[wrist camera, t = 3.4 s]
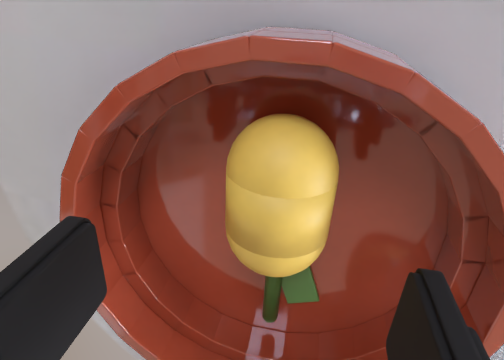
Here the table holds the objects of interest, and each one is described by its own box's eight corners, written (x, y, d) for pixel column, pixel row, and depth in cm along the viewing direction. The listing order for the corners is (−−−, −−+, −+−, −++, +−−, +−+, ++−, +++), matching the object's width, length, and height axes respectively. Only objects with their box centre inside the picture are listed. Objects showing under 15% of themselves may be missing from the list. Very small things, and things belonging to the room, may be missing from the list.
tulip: (241, 95, 15) (211, 128, 11) (355, 107, 14) (365, 146, 10) (234, 306, 21) (213, 375, 17) (314, 322, 20) (311, 397, 16)
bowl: (219, -79, 13) (169, -116, 9) (585, 199, 15) (680, 272, 11) (75, 234, 21) (18, 286, 18) (314, 382, 23) (311, 459, 19)
